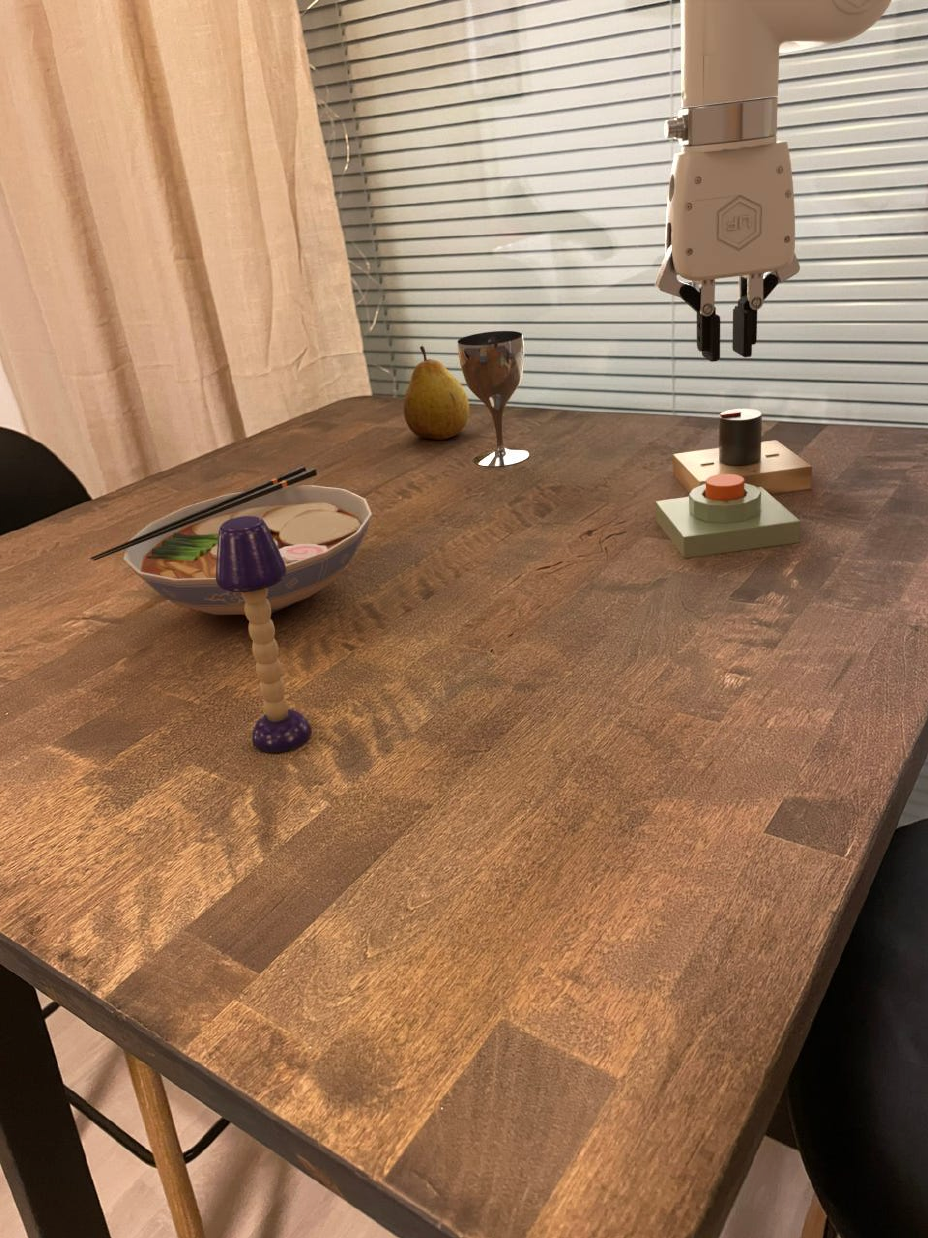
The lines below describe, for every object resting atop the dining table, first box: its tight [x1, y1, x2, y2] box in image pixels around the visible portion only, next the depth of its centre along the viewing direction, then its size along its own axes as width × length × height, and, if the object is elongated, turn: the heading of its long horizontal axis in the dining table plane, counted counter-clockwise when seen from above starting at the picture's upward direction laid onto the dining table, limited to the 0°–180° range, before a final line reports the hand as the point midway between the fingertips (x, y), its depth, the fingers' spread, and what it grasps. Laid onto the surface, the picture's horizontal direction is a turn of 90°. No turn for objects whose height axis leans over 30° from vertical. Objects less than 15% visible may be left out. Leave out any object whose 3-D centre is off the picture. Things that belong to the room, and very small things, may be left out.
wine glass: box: [457, 330, 530, 468], centre depth 120 cm, size 8×8×15 cm
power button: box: [706, 474, 745, 501], centre depth 93 cm, size 4×4×2 cm
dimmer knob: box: [718, 408, 763, 466], centre depth 104 cm, size 4×4×5 cm
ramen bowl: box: [89, 465, 373, 616], centre depth 91 cm, size 25×23×8 cm
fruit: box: [403, 345, 470, 441], centre depth 133 cm, size 9×9×12 cm
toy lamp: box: [216, 516, 312, 754], centre depth 67 cm, size 5×5×17 cm
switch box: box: [654, 483, 801, 559], centre depth 94 cm, size 11×10×4 cm
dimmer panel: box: [672, 439, 813, 495], centre depth 106 cm, size 12×10×3 cm
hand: (726, 354), depth 87 cm, fingers closed
